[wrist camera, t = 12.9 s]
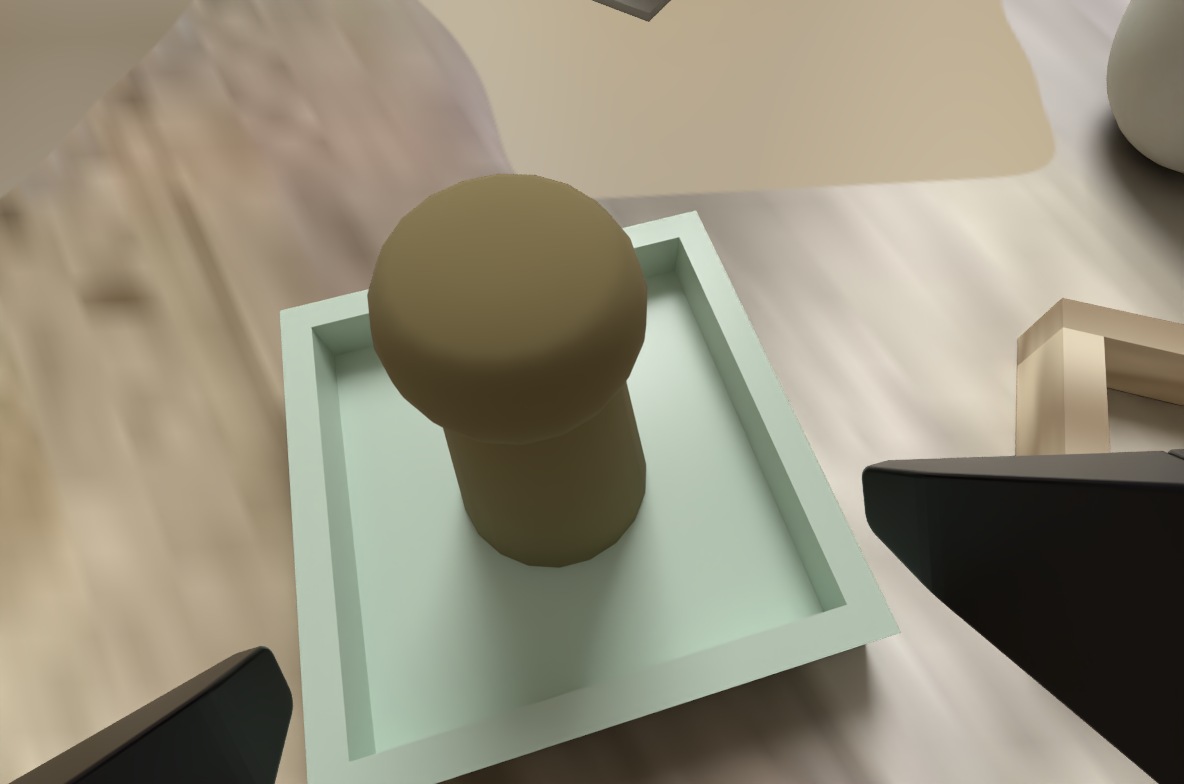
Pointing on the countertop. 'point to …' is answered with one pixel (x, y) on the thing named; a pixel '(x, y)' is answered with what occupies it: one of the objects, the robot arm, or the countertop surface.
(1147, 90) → the grey bottle
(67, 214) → the countertop surface
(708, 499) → the sage green tray
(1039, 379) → the wooden collar
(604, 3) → the skyscraper
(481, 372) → the cork
